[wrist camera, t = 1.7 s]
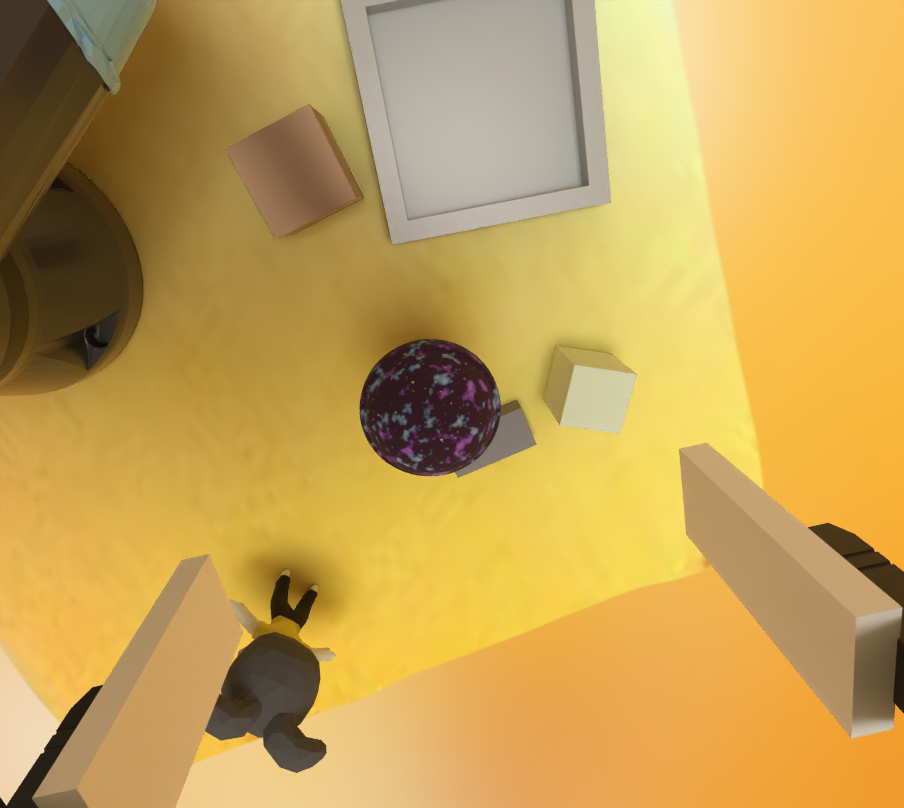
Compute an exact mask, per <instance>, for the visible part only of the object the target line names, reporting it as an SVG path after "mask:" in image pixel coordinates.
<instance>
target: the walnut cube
mask: <svg viewBox="0 0 904 808" xmlns="http://www.w3.org/2000/svg"><path fill="white" fill-rule="evenodd" d="M225 151H226V153H227V154H228V156H229V158H230V160H231V161H232V163H233V165H234V167H235V169H236V170H237V172H238V174H239V176H240V177H241V179H242V181H243V183H244V185H245V186H246V188H247V190H248V192H249V193H250V195H251V197H252V199H253V201H254V202H255V204H256V206H257V208H258V209H259V211H260V213H261V215H262V217H263V218H264V220H265V222H266V224H267V225H268V227H269V229H270V231H271V233H272V234H273V236H274V238H275V239H278V238H282V237H285V236H288V235H292V234H294V233H296V232H298V231H300V230H302V229H304V228H306V227H308V226H310V225H312V224H314V223H316V222H318V221H320V220H322V219H324V218H326V217H328V216H330V215H332V214H334V213H336V212H337V211H339V210H341V209H343V208H345V207H347V206H349V205H351V204H353V203H355V202H357V201H359V200H361V199H363V198H364V197H363V195H362V193H361V191H360V189H359V187H358V185H357V183H356V181H355V179H354V177H353V175H352V173H351V171H350V169H349V167H348V165H347V163H346V161H345V159H344V157H343V155H342V153H341V151H340V149H339V147H338V145H337V143H336V141H335V139H334V137H333V135H332V133H331V131H330V129H329V127H328V125H327V123H326V121H325V119H324V117H323V116H322V115H321V114H320V113H319V112H317V111H316V110H315V109H314V108H313V107H312V106H311V105H307V106H305V107H303V108H301V109H299V110H297V111H296V112H294V113H292V114H290V115H288V116H286V117H284V118H282V119H281V120H279V121H277V122H275V123H273V124H271V125H269V126H267V127H266V128H264V129H262V130H260V131H258V132H256V133H254V134H252V135H251V136H249V137H247V138H245V139H243V140H241V141H239V142H237V143H236V144H234V145H232V146H230V147H228V148H226V149H225Z"/></svg>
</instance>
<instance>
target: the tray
mask: <svg viewBox="0 0 904 808" xmlns="http://www.w3.org/2000/svg"><path fill="white" fill-rule="evenodd" d="M341 4H342V9H343V14H344V19H345V23H346V28H347V33H348V38H349V42H350V47H351V52H352V57H353V61H354V66H355V71H356V76H357V80H358V85H359V90H360V94H361V99H362V104H363V109H364V113H365V118H366V123H367V128H368V132H369V137H370V142H371V147H372V151H373V156H374V161H375V166H376V170H377V175H378V180H379V185H380V189H381V194H382V199H383V204H384V208H385V213H386V218H387V223H388V227H389V232H390V237H391V242H392V245H394V244H399V243H405V242H410V241H415V240H420V239H425V238H430V237H436V236H441V235H446V234H451V233H456V232H461V231H467V230H472V229H477V228H482V227H487V226H492V225H498V224H503V223H508V222H513V221H518V220H523V219H529V218H534V217H539V216H544V215H549V214H554V213H560V212H565V211H570V210H575V209H580V208H585V207H591V206H596V205H601V204H606V203H611V199H610V187H609V174H608V162H607V150H606V138H605V125H604V113H603V101H602V89H601V76H600V64H599V52H598V40H597V27H596V15H595V3H594V0H341Z"/></svg>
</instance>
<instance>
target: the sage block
mask: <svg viewBox="0 0 904 808" xmlns="http://www.w3.org/2000/svg"><path fill="white" fill-rule="evenodd" d="M636 377H637V374H636V373H635V372H634V371H632V370H631V369H630V368H629V367H627V366H626V365H625V364H623V363H622V362H621V361H620V360H618V359H617V358H616V357H615V356H613V355H612V354H609V353H602V352H596V351H590V350H583V349H577V348H570V347H564V346H557V345H556V348H555V352H554V356H553V360H552V365H551V369H550V373H549V378H548V382H547V386H546V390H545V395H544V399H543V400H544V401H545V403H546V404H547V406H548V408H549V409H550V411H551V412H552V414H553V416H554V417H555V419H556V420H557V422H558V423H559V425H560V426H568V427H575V428H582V429H589V430H596V431H603V432H611V433H618V434H620V433H621V429H622V426H623V422H624V419H625V415H626V412H627V408H628V405H629V401H630V398H631V394H632V391H633V387H634V384H635V380H636Z"/></svg>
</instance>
